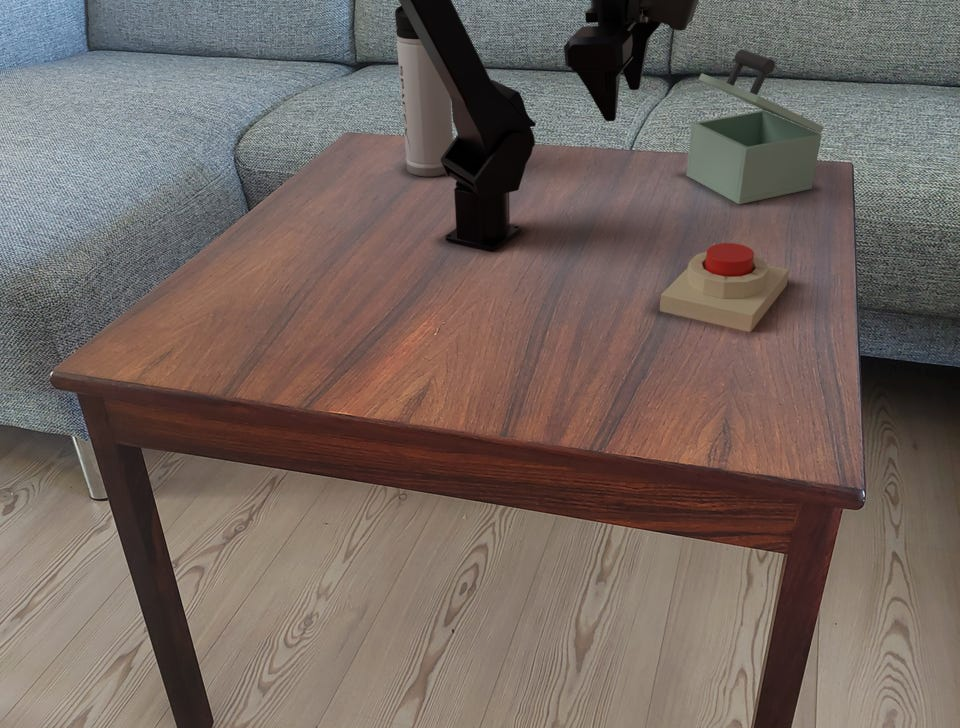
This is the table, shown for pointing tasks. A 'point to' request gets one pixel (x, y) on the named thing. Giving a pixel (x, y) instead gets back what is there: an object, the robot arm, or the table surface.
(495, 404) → the table surface
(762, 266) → the control block
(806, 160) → the green lidded box
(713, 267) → the power button
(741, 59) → the lid
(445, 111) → the travel mug
